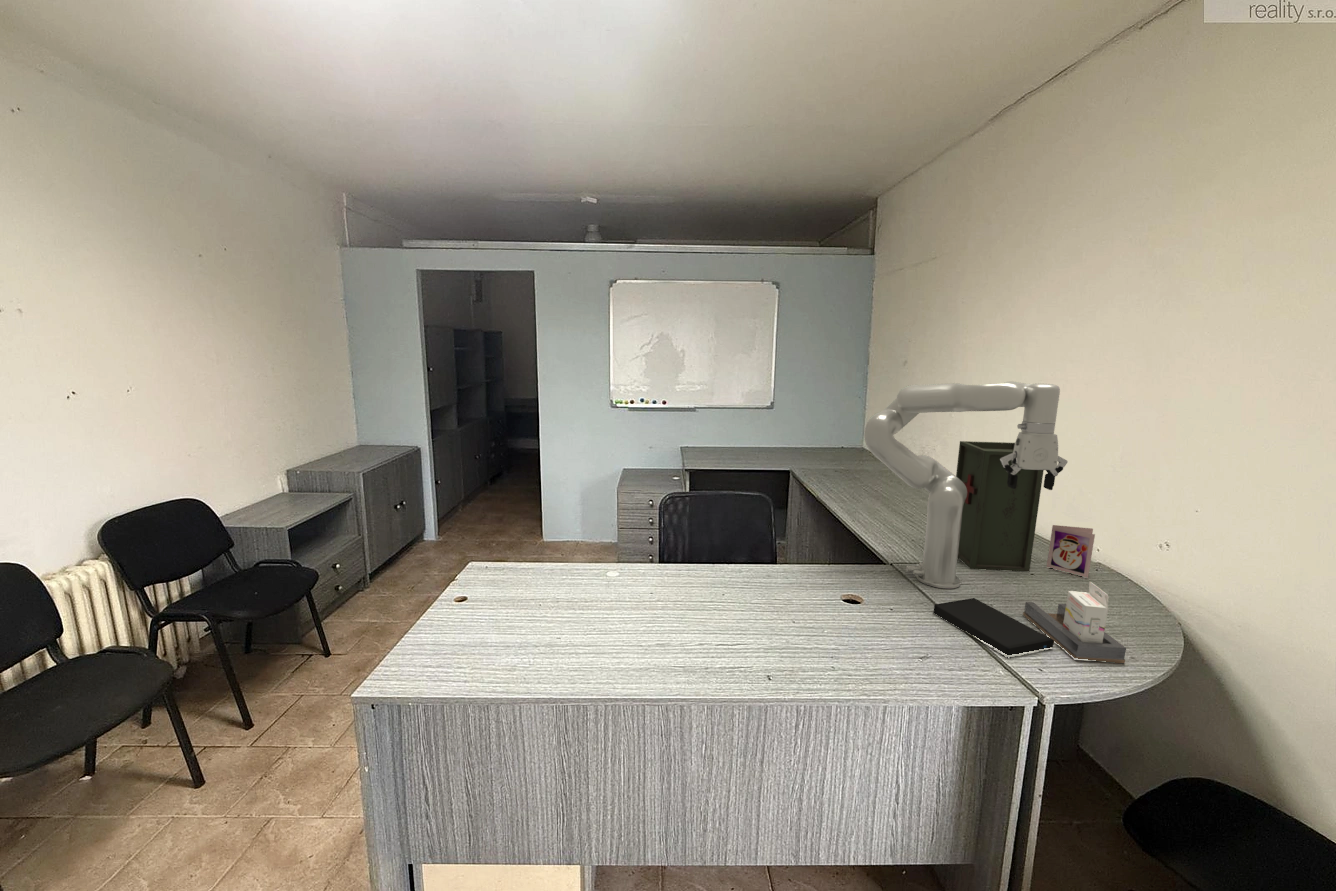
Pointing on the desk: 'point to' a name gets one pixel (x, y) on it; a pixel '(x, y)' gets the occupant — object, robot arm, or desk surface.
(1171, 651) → the desk surface
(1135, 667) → the desk surface
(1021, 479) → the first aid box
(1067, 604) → the ink cartridge box
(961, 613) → the external hard drive
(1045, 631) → the frame
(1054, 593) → the desk surface
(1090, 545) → the greeting card
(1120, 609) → the desk surface
